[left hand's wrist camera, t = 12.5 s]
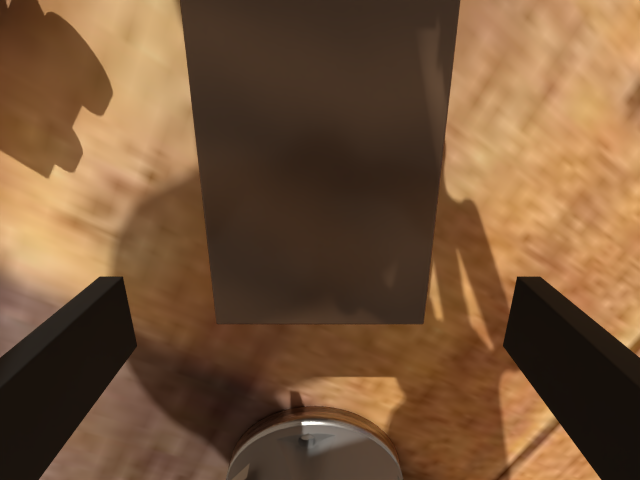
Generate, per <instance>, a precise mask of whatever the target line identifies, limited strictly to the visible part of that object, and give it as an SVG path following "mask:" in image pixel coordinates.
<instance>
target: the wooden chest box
mask: <svg viewBox="0 0 640 480" xmlns="http://www.w3.org/2000/svg"><path fill="white" fill-rule="evenodd" d="M180 4H181V13H182V22H183V31H184V40H185V48H186V57H187V66H188V75H189V84H190V93H191V102H192V110H193V119H194V128H195V137H196V146H197V155H198V163H199V172H200V181H201V190H202V199H203V208H204V217H205V225H206V234H207V243H208V252H209V261H210V270H211V278H212V287H213V296H214V305H215V314H216V323H217V324H423V323H424V316H425V307H426V298H427V290H428V281H429V272H430V263H431V254H432V245H433V237H434V228H435V219H436V210H437V201H438V193H439V184H440V175H441V166H442V157H443V148H444V140H445V131H446V122H447V113H448V104H449V96H450V87H451V78H452V69H453V60H454V51H455V43H456V34H457V25H458V16H459V7H460V0H180Z"/></svg>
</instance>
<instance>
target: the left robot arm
mask: <svg viewBox="0 0 640 480" xmlns="http://www.w3.org/2000/svg"><path fill="white" fill-rule="evenodd" d="M136 347H137V343H136V338H135V333H134V329H133V324H132V319H131V314H130V309H129V304H128V300H127V295H126V290H125V285H124V280H123V277H99V278H98V279H96V280H95V281H94V282H93V283H91V284H90V285H89V286H88V287H87V288H85V289H84V290H83V291H82V292H80V293H79V294H78V295H77V296H75V297H74V298H73V299H72V300H71V301H69V302H68V303H67V304H66V305H64V306H63V307H62V308H61V309H60V310H58V311H57V312H56V313H55V314H53V315H52V316H51V317H50V318H48V319H47V320H46V321H45V322H44V323H42V324H41V325H40V326H39V327H37V328H36V329H35V330H34V331H33V332H31V333H30V334H29V335H28V336H26V337H25V338H24V339H23V340H21V341H20V342H19V343H18V344H17V345H15V346H14V347H13V348H12V349H10V350H9V351H8V352H7V353H6V354H4V355H3V356H2V357H1V358H0V480H39V479H40V477H41V476H42V474H43V473H44V472H45V470H46V469H47V468H48V466H49V465H50V464H51V462H52V461H53V459H54V458H55V457H56V455H57V454H58V453H59V451H60V450H61V449H62V447H63V446H64V445H65V443H66V442H67V440H68V439H69V438H70V436H71V435H72V434H73V432H74V431H75V430H76V428H77V427H78V426H79V424H80V423H81V421H82V420H83V419H84V417H85V416H86V415H87V413H88V412H89V411H90V409H91V408H92V406H93V405H94V404H95V402H96V401H97V400H98V398H99V397H100V396H101V394H102V393H103V392H104V390H105V389H106V387H107V386H108V385H109V383H110V382H111V381H112V379H113V378H114V377H115V375H116V374H117V372H118V371H119V370H120V368H121V367H122V366H123V364H124V363H125V362H126V360H127V359H128V358H129V356H130V355H131V353H132V352H133V351H134V349H135V348H136ZM503 347H504V348H505V349H506V351H507V352H508V353H509V355H510V356H511V358H512V359H513V360H514V362H515V363H516V364H517V366H518V367H519V368H520V370H521V371H522V372H523V374H524V375H525V377H526V378H527V379H528V381H529V382H530V383H531V385H532V386H533V387H534V389H535V390H536V392H537V393H538V394H539V396H540V397H541V398H542V400H543V401H544V402H545V404H546V405H547V406H548V408H549V409H550V411H551V412H552V413H553V415H554V416H555V417H556V419H557V420H558V421H559V423H560V424H561V426H562V427H563V428H564V430H565V431H566V432H567V434H568V435H569V436H570V438H571V439H572V440H573V442H574V443H575V445H576V446H577V447H578V449H579V450H580V451H581V453H582V454H583V455H584V457H585V458H586V459H587V461H588V462H589V464H590V465H591V466H592V468H593V469H594V470H595V472H596V473H597V474H598V476H599V477H600V479H601V480H640V358H639V357H638V356H637V355H636V354H634V353H633V352H632V351H631V350H630V349H628V348H627V347H626V346H625V345H623V344H622V343H621V342H620V341H619V340H617V339H616V338H615V337H614V336H612V335H611V334H610V333H609V332H607V331H606V330H605V329H604V328H603V327H601V326H600V325H599V324H598V323H596V322H595V321H594V320H593V319H592V318H590V317H589V316H588V315H587V314H585V313H584V312H583V311H582V310H580V309H579V308H578V307H577V306H576V305H574V304H573V303H572V302H571V301H569V300H568V299H567V298H566V297H565V296H563V295H562V294H561V293H560V292H558V291H557V290H556V289H555V288H553V287H552V286H551V285H550V284H549V283H547V282H546V281H545V280H544V279H542V278H541V277H517V280H516V285H515V290H514V295H513V300H512V304H511V309H510V314H509V319H508V324H507V329H506V333H505V338H504V343H503ZM226 480H403V476H402V472H401V467H400V462H399V458H398V454H397V451H396V449H395V447H394V445H393V443H392V442H391V440H390V439H389V437H388V436H387V435H386V434H385V433H384V432H383V431H382V430H381V429H380V428H379V427H378V426H376V425H375V424H373V423H372V422H370V421H369V420H367V419H365V418H363V417H361V416H359V415H357V414H354V413H352V412H348V411H345V410H341V409H336V408H330V407H319V406H311V407H298V408H293V409H288V410H284V411H280V412H278V413H275V414H272V415H270V416H268V417H266V418H264V419H262V420H260V421H259V422H257V423H256V424H254V425H253V426H252V427H251V428H249V429H248V430H247V431H246V432H245V433H244V434H243V435H242V437H241V438H240V439H239V441H238V442H237V444H236V446H235V448H234V450H233V453H232V457H231V461H230V465H229V469H228V473H227V477H226Z"/></svg>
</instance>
